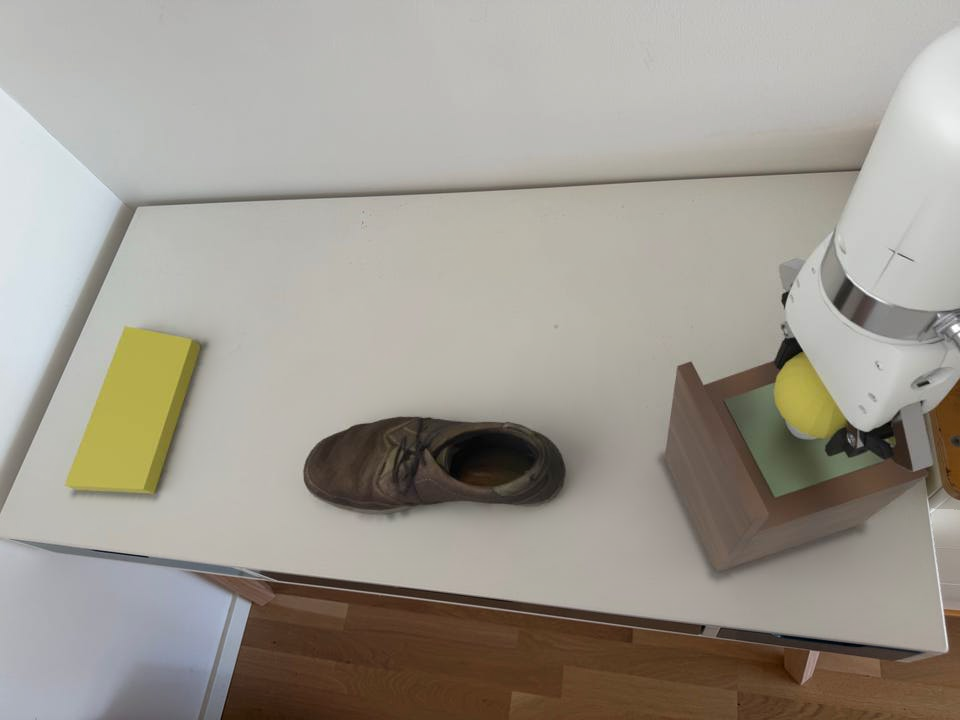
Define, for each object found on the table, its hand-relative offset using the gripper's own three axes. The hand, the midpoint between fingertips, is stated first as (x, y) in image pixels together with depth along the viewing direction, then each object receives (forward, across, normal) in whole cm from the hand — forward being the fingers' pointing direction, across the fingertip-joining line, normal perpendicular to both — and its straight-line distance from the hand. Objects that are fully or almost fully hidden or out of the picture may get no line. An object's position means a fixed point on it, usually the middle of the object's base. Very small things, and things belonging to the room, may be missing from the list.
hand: (819, 401), depth 48 cm
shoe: (+24, +14, +34) cm, 44 cm away
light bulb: (+5, 0, 0) cm, 5 cm away
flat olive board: (+24, +37, +72) cm, 84 cm away
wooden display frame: (+24, 0, 0) cm, 24 cm away
